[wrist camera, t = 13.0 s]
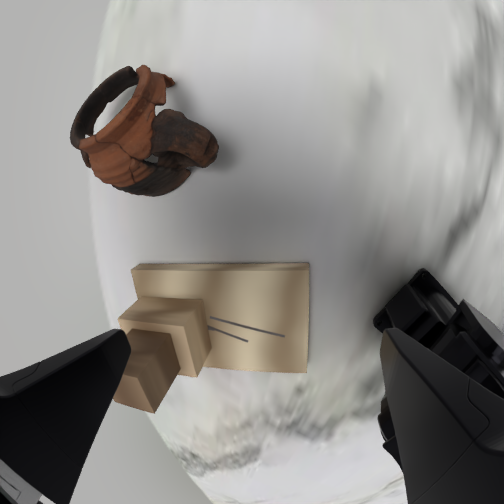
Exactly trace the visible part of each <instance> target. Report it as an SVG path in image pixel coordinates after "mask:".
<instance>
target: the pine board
mask: <svg viewBox="0 0 504 504" xmlns="http://www.w3.org/2000/svg"><path fill="white" fill-rule="evenodd" d="M131 273H132V277H133V281H134V286H135V290H136V293H137V297H138V299H139V298H140V297H141V296H146V297H161V298H179V299H201V300H203V305H204V310H205V316H206V321H207V326H208V331H209V336H210V341H211V346H212V349H211V351H210V353H209V355H208V357H207V359H206V361H205V363H204V365H203V367H212V368H221V369H232V370H244V371H260V372H282V373H307V354H308V325H309V263H268V264H139V265H137V266H136V267H134V268H133V269H131Z"/></svg>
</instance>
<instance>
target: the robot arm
mask: <svg viewBox="0 0 504 504" xmlns="http://www.w3.org/2000/svg"><path fill="white" fill-rule="evenodd" d="M424 273H425V276H424V277H422V275H423V274H424ZM455 308H456V309H455ZM378 321H381V322H380V323H377V322H378ZM373 324H374V326H375V328H377V329H378V330H379V331H380V332H382V333H383V337H382V343H381V348H380V358H381V364H382V370H383V376H384V383H385V390H386V391H385V395H384V397H383V399H382V401H381V413H380V414H379V415H378V423H379V426H380V430H381V434H382V436H383V439H384V440H385V443H384V444H383V448H384V449H385V450H386V451H387V452H389V453H390V454H391V455H392V456H393V458H394V459H395V460H396V462H397V463H398V464H399V466H400V468H401V470H402V472H403V474H404V480H405V486H406V493H407V500H408V504H504V334H503V333H502V332H501V331H500V330H499V329H498V328H497V327H496V326H495V324H494V323H493V322H491V321H490V320H489V319H488V318H486V317H485V316H484V315H483V314H482V313H480V312H479V311H478V310H476V309H475V308H474V307H473V306H471V305H470V304H469V303H468V302H466V301H465V300H464V299H463V300H462V301H461V303H460V304H459V305H458V304H457V303H456V302H455V301H454V300H453V298H452V297H451V296H450V295H449V294H448V293H447V291H446V290H445V289H444V288H443V287H442V286H441V285H440V284H439V283H438V281H437V280H436V279H435V278H434V277H433V276H432V275H431V274H430V273H429V272H428V271H427V270H426V269H421V270H420V271H419V272H418V273H417V274H416V275H415V276H414V277H413V279H412V280H411V281H410V282H409V283H408V284H407V285H405V286H404V287H403V288H402V289H401V290H400V291H399V292H398V294H397V295H396V296H395V297H394V298H393V299H392V300H391V301H390V302H389V303H388V304H387V305H386V307H385V308H384V309H383V310H382V311H381V312H380V313H379V314H378V315H377V316H376V317H375V318H374V320H373ZM130 354H131V346H130V343H129V341H128V338H127V336H126V333H125V332H124V330H122V329H112V330H110V331H108V332H105V333H103V334H101V335H99V336H96V337H94V338H92V339H90V340H88V341H85V342H83V343H81V344H79V345H76V346H74V347H72V348H70V349H67V350H65V351H63V352H61V353H58V354H56V355H54V356H51V357H49V358H47V359H45V360H42V361H41V362H38V363H35V364H33V365H31V366H28V367H26V368H24V369H21V370H18V371H16V372H13V373H10V374H7V375H4V376H1V377H0V504H43V503H42V502H40V501H39V499H40V497H41V496H42V494H43V495H44V496H45V497H47V498H48V499H50V500H51V501H53V502H54V503H56V504H69V503H70V500H71V498H72V495H73V492H74V489H75V487H76V484H77V481H78V479H79V476H80V473H81V471H82V468H83V465H84V463H85V460H86V458H87V456H88V453H89V451H90V448H91V446H92V444H93V441H94V439H95V436H96V434H97V432H98V430H99V427H100V425H101V423H102V421H103V418H104V416H105V414H106V412H107V410H108V408H109V405H110V403H111V401H112V399H113V397H114V395H115V393H116V391H117V388H118V386H119V384H120V381H121V379H122V376H123V373H124V370H125V368H126V365H127V362H128V360H129V357H130Z"/></svg>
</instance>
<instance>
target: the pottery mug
mask: <svg viewBox="0 0 504 504" xmlns="http://www.w3.org/2000/svg"><path fill="white" fill-rule="evenodd" d="M137 84H138V85H137ZM174 84H175V82H174V81H173V80H172V78H169V77H167V76H166V75H165V74H161V73H156V72H151V70H150V68H149V67H147V66H146V65H141V66H140V67H139V68H137V69H136V72H135V71H134V70H133V68H132V67H130V66H127V67H125V68H122V69H120V70H119V71H117V72H115V73H114V74H112V75H111V76H110V77H108V78H107V79H106V80H105V81H103V82H102V83H101V84H100V85H99V86H98V88H96V89H95V90H94V91H93V92H92V93H91V94H90V96H89V97H88V99H87V100H86V101H85V102H84V104H83V105H82V107H81V108H80V110H79V111H78V113H77V115H76V117H75V119H74V122H73V125H72V128H71V132H70V140H71V144H72V145H73V146H74V147H75V148H76V149H79V150H81V154H82V158H83V160H84V162H85V164H86V166H87V167H89V168H92V170H93V172H94V175H95V176H96V177H98V178H99V179H100V180H101V181H102V182H104V183H107V184H111V185H112V186H113V187H115V188H116V189H118V190H123V191H124V192H128V193H130V194H135V195H145V196H159V195H164V194H166V193H168V192H170V191H172V190H174V189H176V188H177V187H178V186H180V184H181V183H183V182H184V181H185V180H186V178H187V177H188V176H189V175H190V171H189V170H187V169H185V168H188V167H190V166H197V167H201V168H206V167H207V166H208V165H210V164H211V163H212V162H214V161H215V160H216V158H217V152H218V149H219V146H218V144H217V140H216V138H215V137H214V135H213V134H212V133H211V132H210V131H209V130H208V129H206V128H205V127H203V126H202V125H200V124H198V123H195V122H193V121H191V120H188V119H187V118H186V117H185V116H184V114H183V113H181V112H178V111H174V110H171V109H164V110H162V111H161V112H160V113H159V114H158V115H157V116H156V115H155V106H156V105H157V106H162V105H164V104H165V103H166V87H170V86H173V85H174ZM134 85H137V88H136V89H135V92H134V94H133V96H132V98H131V99H130V100H129V101H128V103H127V104H126V105H125V107H124V108H123V109H122V110H121V111H120V112H119V113H118V114H117V115H116V116H115V118H114V119H113V120H112V121H111V122H110V123H108V124H107V125H106V126H105V127H104V128H103V129H101V130H100V131H99V132H98V133H97V134H95V135H93V133H94V130H93V129H94V124H95V122H96V120H97V118H98V117H99V115H100V114H101V113H102V112H103V110H104V109H105V107H106V105H107V103H108V102H112V101H113V100H114V99H115V98H117V97H118V96H119V95H120V94H121V93H122V92H123V91H125V90H126V89H127V88H129V87H132V86H134ZM85 134H86V135H89V136H90V137H88V138H85ZM151 154H153V155H154V156H157V157H158V163H152V162H149V161H145V159H146V158H148V157H150V156H151Z"/></svg>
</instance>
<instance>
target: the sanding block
mask: <svg viewBox="0 0 504 504" xmlns="http://www.w3.org/2000/svg"><path fill="white" fill-rule="evenodd" d="M118 322H119V324H120V327H121V329H122V330H124V332H125V333H126V336H127V338H128V341H129V343H130V346H131V354H130V357H129V360H128V362H127V365H126V368H125V370H124V373H123V376H122V379H121V381H120V384H119V386H118V388H117V391H116V393H115V395H114V397H113V399H114V401H115V402H117V403H121V404H123V405H127V406H130V407H133V408H136V409H140V410H143V411H147V412H150V413H154V414H155V412H156V410H157V408H158V407H159V405H160V403H161V402H162V400H163V398H164V396H165V395H166V393H167V391H168V390H169V388H170V386H171V385H172V383H173V381H174V379H175V378H176V376H177V374H178V375H184V376H190V377H198V375H199V373H200V371H201V369H202V367H203V365H204V363H205V361H206V359H207V357H208V355H209V353H210V351H211V349H212V346H211V341H210V336H209V331H208V326H207V321H206V316H205V310H204V305H203V300H201V299H179V298H161V297H146V296H141V297H140V298H139V299H138V300H137V301H136V302H135V303H134V304H133V305H132V306H131V307H129V308H128V309H127V310H126V311H125V312H124V313H123V314H122V315H121V316H120V317H119V318H118Z"/></svg>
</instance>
